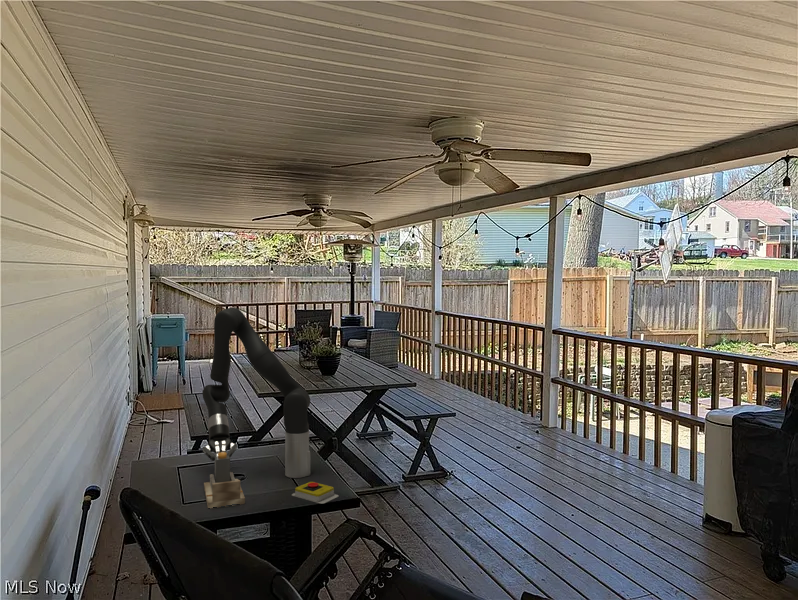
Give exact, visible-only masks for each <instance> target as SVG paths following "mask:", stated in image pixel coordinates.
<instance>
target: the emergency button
mask: <svg viewBox="0 0 798 600" xmlns="http://www.w3.org/2000/svg"><path fill="white" fill-rule="evenodd" d="M291 496H292V497H296V498H299V499H303V500H306V501H309V502H312V503H313V502H314V503H316V504H320V505H321V504H326V503H328V502H330V501H333V500H334V499H336V498H337V499H338V497H339V495H338V494H336V493H335V489H334V487H333V486H330V485H327V484H323V483H319V482H316V481H308V482H307V483H304V484H301V485H299V486H296V487H295V490H294V492H293V493H292V494H291Z"/></svg>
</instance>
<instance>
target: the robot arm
mask: <svg viewBox="0 0 798 600" xmlns="http://www.w3.org/2000/svg"><path fill="white" fill-rule="evenodd" d="M213 325H214V326H213V334H214V335H213V336H214V337H213V339H214V340H213V341H214V342H213V355H212V356H213V357H212V363H211V367H210V368H211V369H210V375H209V377H210V379H211V380H212V381H214V382H217V383H220V384H206V385H205V386H204V387H203V389H202V393H201V394H202V398H203V402H204V405H206V409H207V414H208V428H207V430H208V443H207V445H206V446H203V447H202V453H203V454H204V455H206V457H208V459H210V460H211V461H212V462H213V461H214V462H215V457H218V453H220V452H226V453H227V455H229V457H230V458H231V457H232V455H233V454H234V453H235V452H236V450H237V449H238V444H237V443H233V442H232V440H231V437H230V426H229V420H228V411H227V410H228V409H227V405H226V404H224V403H226V402H227V401H229V400H230V398H231V397H230V395H231V391H230V386H229V385H230V384H229V375H230V370H231V364H232V363H231V362H232V361H231V353H230V339H231V337H232V334H233V333H234V334H235V336H236V337H237V338H238V339H239V340H240V341H241V343H242V345H243V348H244V351H245V354H246V357H247V360H248V362H249V363H250V365H252V367H253V368H254V369H255V371H256V372H257V373H258V374H259V375H260V376H261V377H262V378H264V379H265V380H266V381H268V382H269V383H270V384H272V385H273V386H275V388H277V390H278V391H279V392H280V393H281V394H282V396H283V397H284V400H283V424H284V428H285V429H284V435H285V436H284V437H285V439H284V441H285V443H284V446H285V447H284V449H285V450H284V452H285V453H284V454H285V457H284V461H285V463H284V464H285V467H284V468H285V469H284V471H285V472H284V474H285V476H286V477H287V478H291V479H299V478H305V477H307V476H311V451H310V424H309V422H308V409H309V407H310V405H311V396H310V395H309V393H308V392H307V390H305V389H304V388H303V387H302V385H300V384H299V383H298V381H296V380H295V379H294V378H293V377H292V375H291V374H290V373H289V371H288V370H287V369H286V367H285V366H284V365H283V364H282V362H281V361H280V360H279V359H278V357H277V356H276V354H274V352H273V351H272V350H271V349H270V348H269V347H268V346H267V344H266V343H265V342H264V341H263V339H262V338H261V337H260V336H259V334H258V333H257V332H256V331H255V329H254V328H253V326H252V324H251V323H250V321H249V320H248V318H247V317H246V316H245V314H244V313H243V312H242V311H241V310H240V309H239V308H237V307H228V308H226V309H222V310H220V311H219V312H217V313H216V315H215V316H214V321H213ZM228 449H229V451H228ZM227 451H228V452H227Z"/></svg>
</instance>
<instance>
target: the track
mask: <svg viewBox="0 0 798 600" xmlns="http://www.w3.org/2000/svg"><path fill="white" fill-rule="evenodd" d="M203 490H204V494H205V500H206V506H207V509H208V508H210V509H214V508H213V507H217V508H222V507H221V506H225V507H227V506H226V505H232V504H240V505H245V503H246V496H245V495H244V491H243V488H242V486H241V479H238V478H235V475H234V472H233V471H230V481H228V482H220V483H215V474H214V473H212V474H209V481H207V482H203ZM232 506H233V505H232Z"/></svg>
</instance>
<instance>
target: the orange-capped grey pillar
mask: <svg viewBox="0 0 798 600" xmlns="http://www.w3.org/2000/svg"><path fill="white" fill-rule="evenodd" d="M227 453H228V452H227V451H226V452H220V453H218V457H215V461H214V479H215V483H220V482H228V481H230V472H231V457H229V455H227Z"/></svg>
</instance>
